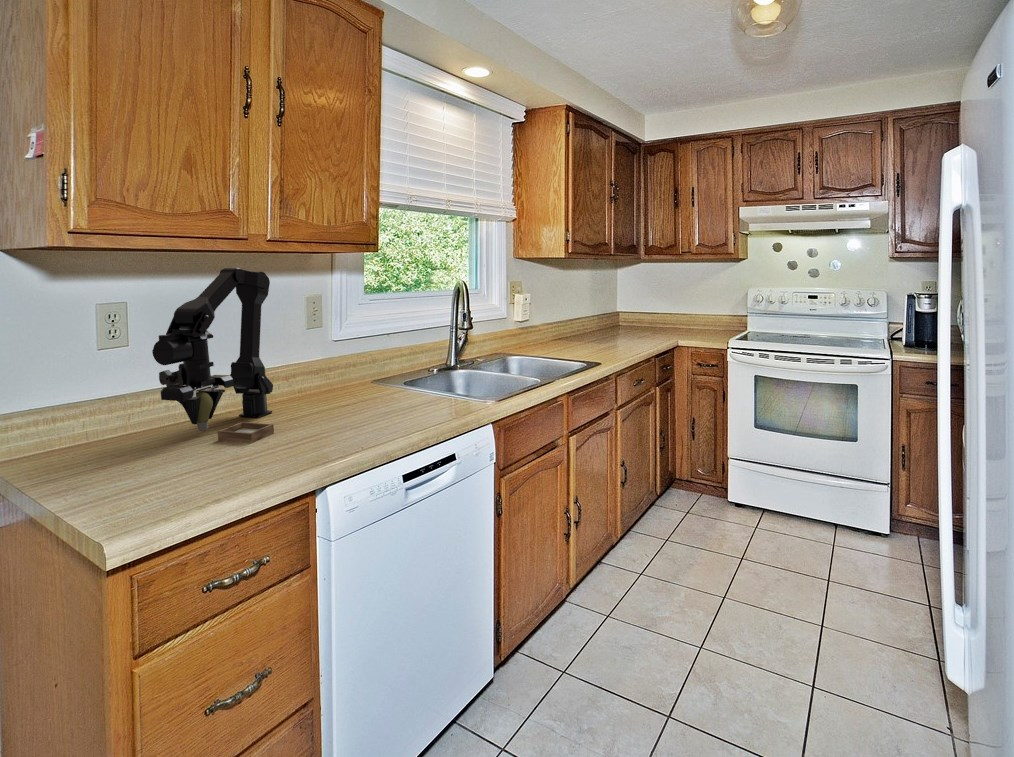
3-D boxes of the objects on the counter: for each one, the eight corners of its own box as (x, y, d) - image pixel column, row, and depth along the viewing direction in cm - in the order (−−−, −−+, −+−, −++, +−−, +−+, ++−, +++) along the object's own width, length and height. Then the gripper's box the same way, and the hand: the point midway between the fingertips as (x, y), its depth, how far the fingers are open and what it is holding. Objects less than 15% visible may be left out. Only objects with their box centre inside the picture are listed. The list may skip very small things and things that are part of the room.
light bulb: (191, 429, 158) (187, 390, 156) (216, 427, 160) (212, 388, 158) (189, 435, 153) (185, 394, 151) (214, 433, 155) (210, 393, 153)
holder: (242, 431, 160) (241, 422, 159) (274, 433, 158) (273, 424, 157) (218, 440, 151) (217, 431, 151) (251, 443, 149) (250, 433, 149)
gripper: (195, 352, 164) (200, 411, 167) (137, 363, 146) (144, 429, 149) (232, 353, 162) (237, 413, 164) (178, 365, 144) (185, 432, 147)
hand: (201, 421), depth 156 cm, fingers closed on light bulb, 5 cm apart
